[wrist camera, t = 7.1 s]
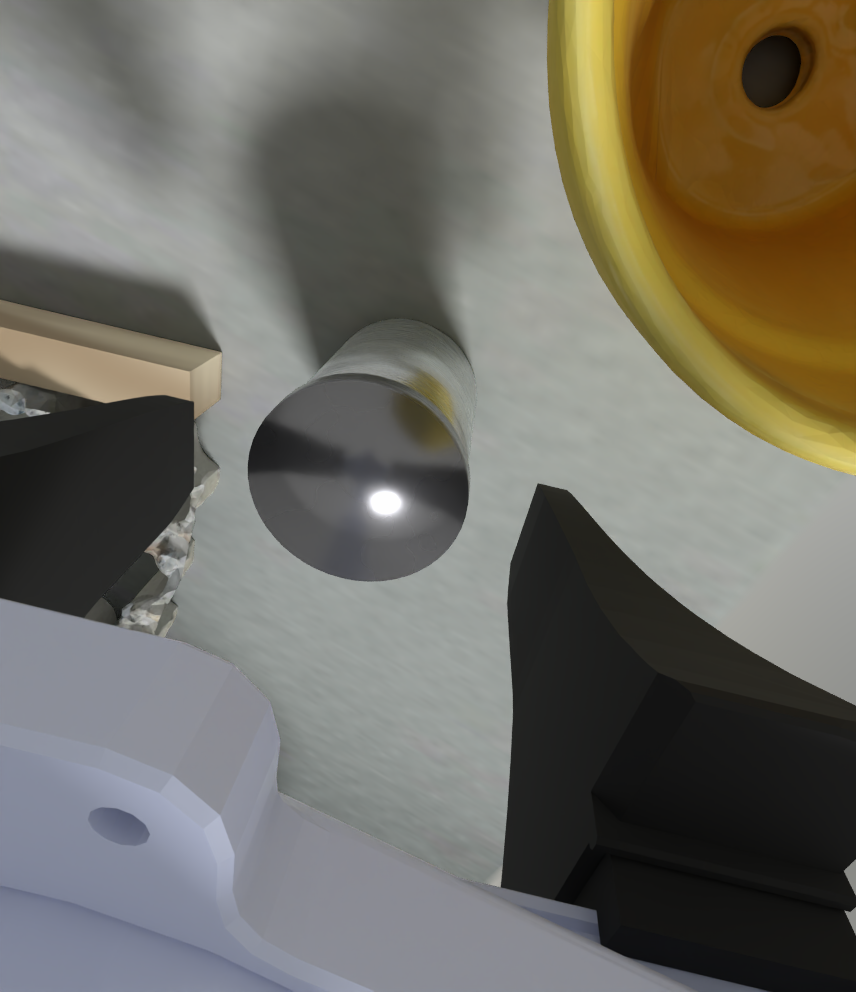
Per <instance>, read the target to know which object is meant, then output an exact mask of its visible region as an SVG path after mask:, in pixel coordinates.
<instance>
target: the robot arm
mask: <svg viewBox="0 0 856 992" xmlns="http://www.w3.org/2000/svg"><path fill="white" fill-rule="evenodd" d="M193 489H194V402H193V401H189V400H185V399H180V398H176V397H172V396H168V395H153V396H144V397H138V398H131V399H126V400H120V401H115V402H109V403H104V404H99V405H94V406H89V407H83V408H78V409H73V410H67V411H61V412H55V413H49V414H43V415H37V416H31V417H25V418H19V419H12V420H5V421H0V992H856V935H855V933H854V931H853V929H852V926H851V924H850V922H849V920H848V918H847V915H846V913H845V911H849V912H851V911H852V910H853V909H854V908H855V907H856V895H855V894H854V891H853V889H852V887H851V885H850V883H849V881H848V879H847V877H846V875H845V873H844V870H845V869H846V868H847V867H848V866H849V865H850V864H851V863H852V862H853V861H854V860H855V859H856V706H855V705H853V704H851V703H849V702H847V701H845V700H843V699H841V698H839V697H837V696H835V695H833V694H830V693H829V692H827V691H825V690H823V689H820V688H818V687H816V686H814V685H812V684H810V683H808V682H806V681H804V680H802V679H800V678H798V677H796V676H794V675H792V674H790V673H789V672H787V671H785V670H783V669H781V668H780V667H778V666H776V665H774V664H772V663H771V662H769V661H767V660H766V659H764V658H762V657H760V656H759V655H757V654H755V653H753V652H751V651H750V650H748V649H746V648H745V647H743V646H742V645H740V644H738V643H737V642H735V641H734V640H732V639H731V638H729V637H727V636H726V635H724V634H723V633H722V632H720V631H719V630H717V629H716V628H714V627H713V626H711V625H710V624H708V623H707V622H705V621H704V620H702V619H701V618H700V617H698V616H697V615H695V614H694V613H693V612H691V611H690V610H689V609H687V608H686V607H685V606H683V605H682V604H681V603H679V602H678V601H677V600H676V599H675V598H673V597H672V596H671V595H670V594H668V593H667V592H666V591H665V590H664V589H662V588H661V587H660V586H659V585H657V584H656V583H655V582H654V581H653V580H652V579H651V578H650V577H648V576H647V575H646V574H645V573H644V572H643V571H642V570H641V569H640V568H639V567H638V566H637V565H636V564H635V563H634V562H633V561H632V560H631V559H630V558H629V557H628V556H627V555H626V554H625V553H624V552H623V551H622V550H621V549H620V548H619V547H618V546H617V545H616V544H615V543H614V542H613V541H612V540H611V538H610V537H609V536H608V535H607V534H606V533H605V532H604V531H603V530H602V528H601V527H600V526H599V525H598V524H597V523H596V522H595V520H594V519H593V518H592V517H591V516H590V515H589V513H588V512H587V511H586V510H585V509H584V508H583V506H582V505H581V504H580V503H579V502H578V501H577V500H576V498H575V497H574V496H573V495H572V494H571V493H570V492H568V491H567V490H564V489H559V488H555V487H551V486H547V485H543V484H537V487H536V490H535V493H534V496H533V499H532V502H531V505H530V508H529V511H528V514H527V517H526V520H525V523H524V525H523V528H522V531H521V534H520V537H519V540H518V543H517V546H516V549H515V552H514V555H513V558H512V561H511V565H510V575H509V586H508V600H507V606H508V625H509V641H510V657H511V672H512V688H513V726H512V746H511V764H510V779H509V795H508V810H507V822H506V834H505V846H504V858H503V870H502V881H501V887H496V886H492V885H488V884H484V883H480V882H476V881H471V880H467V879H463V878H459V877H457V876H455V875H453V874H451V873H449V872H446V871H444V870H442V869H440V868H438V867H436V866H434V865H432V864H430V863H428V862H426V861H423V860H421V859H419V858H417V857H415V856H413V855H411V854H409V853H407V852H405V851H402V850H400V849H398V848H396V847H394V846H392V845H390V844H388V843H386V842H384V841H381V840H379V839H377V838H375V837H373V836H371V835H369V834H367V833H365V832H363V831H360V830H358V829H356V828H354V827H352V826H350V825H348V824H346V823H344V822H342V821H339V820H337V819H335V818H333V817H331V816H329V815H327V814H325V813H323V812H321V811H318V810H316V809H314V808H312V807H310V806H308V805H306V804H304V803H302V802H300V801H297V800H295V799H293V798H291V797H289V796H287V795H285V794H283V793H281V792H279V791H278V788H277V777H276V775H277V766H278V758H279V749H280V736H279V732H278V729H277V725H276V721H275V717H274V714H273V710H272V706H271V702H270V701H269V700H268V699H267V697H266V696H265V695H264V694H263V693H262V692H261V691H260V690H259V689H258V688H257V687H256V686H255V685H254V684H253V683H252V682H251V681H250V680H249V679H248V678H247V677H246V676H245V675H244V674H243V673H242V672H241V671H240V670H239V669H238V668H237V667H236V666H235V665H234V664H233V663H231V662H229V661H227V660H224V659H222V658H220V657H218V656H215V655H213V654H211V653H208V652H206V651H204V650H202V649H199V648H197V647H195V646H192V645H190V644H188V643H186V642H182V641H178V640H173V639H169V638H165V637H161V636H157V635H152V634H148V633H144V632H140V631H136V630H131V629H127V628H123V627H119V626H115V625H111V624H106V623H102V622H98V621H94V620H90V619H85V618H84V617H85V616H86V615H87V613H88V612H89V611H90V610H91V609H92V607H93V606H94V605H95V604H96V603H97V602H98V601H99V599H100V598H101V597H102V596H103V595H104V594H105V593H106V592H107V590H108V589H109V588H110V587H111V586H112V585H113V584H114V583H115V582H116V581H117V580H118V579H119V578H120V577H121V576H122V575H123V574H124V573H125V571H126V570H127V569H128V568H129V567H130V566H131V565H132V564H133V563H134V562H135V561H136V560H137V559H138V558H139V557H140V556H141V555H142V553H143V552H144V551H145V550H146V549H147V548H148V547H149V546H150V545H151V544H152V543H153V542H154V541H155V540H156V538H157V537H158V536H159V535H160V534H161V533H162V532H163V531H164V530H165V529H166V528H167V526H168V525H169V524H170V523H171V522H172V520H173V519H174V517H175V516H176V515H177V513H178V512H179V510H180V509H181V508H182V506H183V504H184V503H185V501H186V500H187V498H188V497H189V495H190V493H191V492H192V490H193ZM844 910H845V911H844Z"/></svg>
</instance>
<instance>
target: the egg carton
mask: <svg viewBox="0 0 856 992" xmlns="http://www.w3.org/2000/svg"><path fill="white" fill-rule="evenodd" d="M99 404H103V402H100V401H95V400H91V399H87V398H83V397H78V396H74V395H70V394H66V393H62V392H57V391H53V390H49V389H45V388H41V387H36V386H32V385H28V384H24V383H15V384H13V385H11V386H9V387H7V388H5V389H0V421H5V420H12V419H19V418H25V417H31V416H37V415H43V414H49V413H55V412H61V411H67V410H73V409H78V408H83V407H89V406H94V405H99ZM219 477H220V467H219V466H218V465H216V464H215V463H214V462H213V461H211V460H210V459H209V458H208V457H207V456H206V454H205V453H204V452H203V450H202V448H201V446H200V443H199V440H198V433H197V426H196V423H195V422H194V489H193V490H192V492H191V493H190V495H189V497H188V498H187V500H186V501H185V503H184V504H183V506H182V508H181V509H180V510H179V512H178V513H177V515H176V516H175V517H174V519H173V520H172V522H171V523H170V524H169V525H168V526H167V528H166V529H165V530H164V531H163V532H162V533H161V534H160V535H159V536H158V537H157V538H156V540H155V541H154V542H153V543H152V544H151V545H150V546H149V547H148V548H147V549H146V550H145V551H144V552H146V553H149V554H150V555H152V556H153V557H154V560H155V562H156V565H157V567H158V568H159V571H158V572H157V573H156V574H155V575H154V576H153V577H152V579H151V580H150V581H149V582H148V583H147V584H146V585H145V586H144V587H143V589H142V590H141V591H140V592H139V593H138V594H137V596H136V597H135V598H134V599H133V601H132V602H131V603H129V604H128V605H126V606H125V607H124V608H122V616H121V618H120V619H119V620H118V621H117V618H116V613H115V611H114V609H113V608H112V606H111V605H110V604H109V603H108V602H107V601H106V600H105V599H104V598H102V597H101V598H100V599H99V601H98V602H97V603H96V604H95V605H94V606H93V607H92V609H91V610H90V611H89V612H88V613H87V615H86V616H85V617H84V618H85V619H90V620H94V621H98V622H102V623H106V624H111V625H115V626H119V627H123V628H127V629H131V630H136V631H140V632H144V633H148V634H152V635H157V636H161V637H166V634H167V632H168V630H169V628H170V627H171V626H172V624H173V622H174V620H175V618H176V614H177V610H178V606H177V605H175V604H174V603H172V602H171V601H170V600H171V598H172V596H173V594H174V592H175V591H176V589H177V587H178V585H179V583H180V581H181V578H182V577H183V576H184V575H185V573H186V571H187V570H188V569H189V568H190V566H191V565H192V563H193V559H194V544H195V540H194V539H193V538H191V534H192V531H193V527H194V524H195V510H196V508H197V507H199V506H200V505H202V504H203V502H204V501H205V499H206V498H207V497H209V496H210V495H212V493H213V492H214V490H215V488H216V486H217V484H218V481H219Z"/></svg>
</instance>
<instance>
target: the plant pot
mask: <svg viewBox="0 0 856 992" xmlns="http://www.w3.org/2000/svg"><path fill="white" fill-rule="evenodd" d="M773 35H781V36H785V37H788V38H790V39H791V40H792V41H793V42H794V43H795V44H796V45H797V47H798V49H799V52H800V56H801V66H800V72H799V76H798V79H797V81H796V84H795V86H794V88H793V89H792V91H791V93H790V94H789V95H788V96H787V97H786V99H784V100H783V101H782V102H780V103H779V104H777V105H775V106H772V107H768V108H761V107H758V106H756V105H755V104H753V102H752V101H751V100H750V99H749V98H748V97H747V95H746V93H745V91H744V88H743V83H742V70H743V65H744V62H745V59H746V57H747V55H748V53H749V52H750V51H751V49H752V48H753V47H754V46H755V45H756V44H757V43H758V42H760V41H761V40H763V39H765V38H767V37H769V36H773ZM547 71H548V93H549V108H550V115H551V123H552V130H553V137H554V143H555V150H556V155H557V159H558V164H559V168H560V173H561V177H562V182H563V185H564V188H565V192H566V195H567V198H568V201H569V204H570V208H571V211H572V214H573V217H574V220H575V222H576V225H577V227H578V229H579V232H580V234H581V237H582V239H583V241H584V244H585V246H586V249H587V251H588V253H589V255H590V257H591V259H592V261H593V263H594V265H595V267H596V269H597V271H598V273H599V275H600V276H601V278H602V280H603V281H604V283H605V284H606V286H607V287H608V289H609V291H610V292H611V294H612V295H613V297H614V299H615V300H616V302H617V303H618V305H619V306H620V308H621V309H622V310H623V312H624V313H625V314H626V316H627V317H628V318H629V320H630V321H631V322H632V324H633V325H634V326H635V328H636V329H637V330H638V331H639V333H640V334H641V335H642V336H643V337H644V339H645V340H646V341H647V342H648V343H649V345H650V346H651V347H652V348H653V349H654V351H655V352H656V353H657V354H658V355H659V356H660V358H661V359H662V360H663V361H664V362H665V363H666V364H667V365H668V367H669V368H670V369H671V370H672V371H673V372H674V373H675V374H676V375H677V376H678V377H679V378H680V379H681V380H682V381H684V382H685V383H686V384H687V385H688V386H689V387H690V388H691V389H692V390H693V391H694V392H695V393H696V394H697V395H699V396H700V397H701V398H702V399H703V400H705V401H706V402H707V403H708V404H710V405H711V406H712V407H714V408H715V409H716V410H718V411H719V412H720V413H721V414H723V415H724V416H725V417H727V418H728V419H730V420H731V421H733V422H734V423H736V424H737V425H739V426H741V427H742V428H744V429H745V430H747V431H748V432H750V433H751V434H753V435H755V436H757V437H759V438H761V439H762V440H764V441H766V442H768V443H770V444H772V445H774V446H776V447H778V448H780V449H782V450H784V451H786V452H789V453H791V454H793V455H796V456H798V457H800V458H803V459H805V460H808V461H810V462H813V463H816V464H819V465H822V466H825V467H828V468H831V469H834V470H837V471H841V472H844V473H848V474H852V475H855V476H856V0H549V8H548V34H547Z"/></svg>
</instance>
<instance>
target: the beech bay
mask: <svg viewBox="0 0 856 992" xmlns="http://www.w3.org/2000/svg"><path fill="white" fill-rule="evenodd" d="M221 366H222V352H219V351H215V350H211V349H206V348H202V347H198V346H194V345H189V344H185V343H181V342H177V341H173V340H168V339H164V338H160V337H156V336H151V335H147V334H143V333H139V332H135V331H130V330H126V329H122V328H118V327H113V326H109V325H105V324H101V323H97V322H92V321H88V320H84V319H80V318H75V317H71V316H67V315H63V314H59V313H54V312H50V311H46V310H42V309H37V308H33V307H29V306H25V305H21V304H16V303H12V302H8V301H4V300H0V378H3V379H7V380H11V381H15V382H20V383H24V384H28V385H32V386H36V387H41V388H45V389H49V390H53V391H57V392H62V393H66V394H70V395H74V396H78V397H83V398H87V399H91V400H95V401H100V402H104V403H109V402H115V401H120V400H126V399H131V398H138V397H144V396H153V395H168V396H172V397H176V398H180V399H185V400H189V401H193V402H194V420H195V419H196V418H197V417H198V416H200V415H201V414H202V413H204V412H205V411H206V410H207V409H209V408H210V407H211V406H213V405H214V404H215V403H216V402H218V401H219V400H220V399H221Z"/></svg>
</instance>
